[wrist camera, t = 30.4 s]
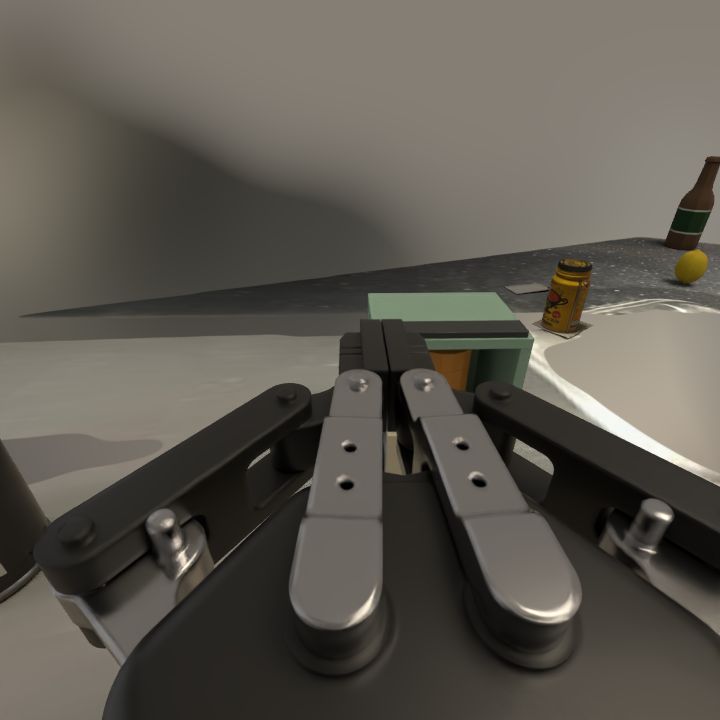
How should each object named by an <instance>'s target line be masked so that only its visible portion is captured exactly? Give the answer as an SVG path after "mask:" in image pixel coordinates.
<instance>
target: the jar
mask: <svg viewBox="0 0 720 720" xmlns="http://www.w3.org/2000/svg"><path fill="white" fill-rule="evenodd" d="M471 353H472V349H453V350H429V354H430V356H431V359H432V361H433V364H434V367H435V370H436V372H438V373H440V374H442V375H443V376H444V377H445V378H446V380H447V382H448V384H449V386H450V387H451V388H453V389H456V390H460V391H466V385H467V378H468V372H469V366H470V359H471Z"/></svg>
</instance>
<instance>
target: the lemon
mask: <svg viewBox="0 0 720 720" xmlns="http://www.w3.org/2000/svg"><path fill="white" fill-rule="evenodd" d="M707 264H708V259H707V256H706V255H705V254H704V253H703V252H701V251H700V250H698V249H696V250H695V251H690V252H687V253H686V254H684V255H683V256H682V257H681V258H680V259H679V261H678V262H677V264H676V267H675V275H676V277H677V278H678V279H679V280H680V281H681V282H682V284H687V283H689V282H693V281H696V280H698V279H699V278H701V277H702V275H703V274H704V273H705V271H706V268H707Z"/></svg>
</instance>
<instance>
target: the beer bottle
mask: <svg viewBox="0 0 720 720" xmlns="http://www.w3.org/2000/svg"><path fill="white" fill-rule="evenodd" d="M705 162H706V163H705V165H704V168H703V169H702V172H701V174H700V176H699V178H698V181H697V183H696V184H695V186H694V188H693V189H692V190H691V191H689V192H688V193H687V194H686V195H685V196H684V198H683V199H682V200H681V202H680V205H679V206H678V209H677V212H676V214H675V217H674V220H673V222H672V225H671V228H670V230H669V233H668V236H667V238H666V241H665V245H666V246H667V247H669V248H674V249H678V250H692V249H695V248H696V246H697V244H698V242H699V239H700V237H701V234H702V232H703V230H704V227H705V225H706V223H707V220H708V218H709V215H710V213H711V211H712V208H713V205H714V194H713V191H712V188H713V183H714V181H715V178H716V174H717V172H718V169H719V166H720V157H712V156H711V157H707V159H706V160H705Z"/></svg>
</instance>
